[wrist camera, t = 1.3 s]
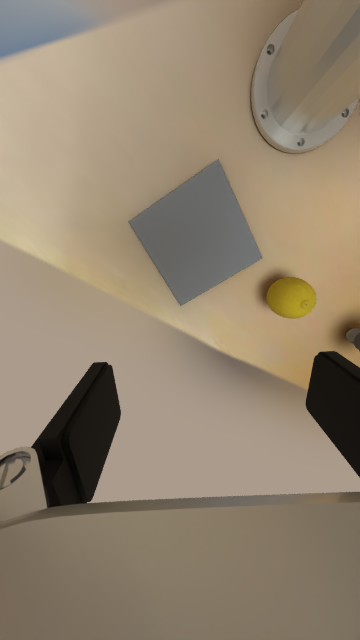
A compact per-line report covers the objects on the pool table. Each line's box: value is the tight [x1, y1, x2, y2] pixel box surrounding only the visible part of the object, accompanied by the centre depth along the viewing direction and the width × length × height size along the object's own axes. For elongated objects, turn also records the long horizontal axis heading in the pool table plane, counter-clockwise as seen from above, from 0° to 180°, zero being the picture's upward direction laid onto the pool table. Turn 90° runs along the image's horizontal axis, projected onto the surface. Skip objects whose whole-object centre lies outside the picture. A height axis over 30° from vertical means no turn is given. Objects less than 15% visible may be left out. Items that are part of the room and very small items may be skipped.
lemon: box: [267, 277, 316, 319], centre depth 28 cm, size 6×6×8 cm
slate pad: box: [129, 159, 262, 306], centre depth 29 cm, size 14×14×1 cm
